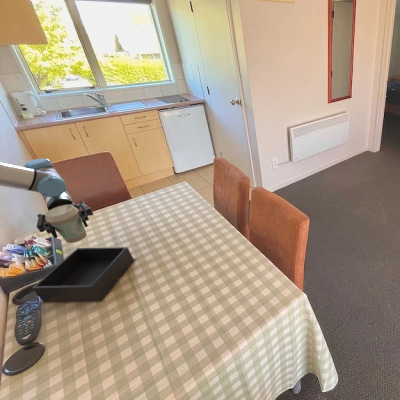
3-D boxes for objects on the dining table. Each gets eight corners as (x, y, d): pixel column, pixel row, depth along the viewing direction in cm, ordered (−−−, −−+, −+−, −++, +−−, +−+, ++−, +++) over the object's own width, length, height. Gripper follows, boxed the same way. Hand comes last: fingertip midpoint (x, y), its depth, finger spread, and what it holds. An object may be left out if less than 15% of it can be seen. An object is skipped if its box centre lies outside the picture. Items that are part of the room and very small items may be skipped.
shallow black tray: (43, 301, 91) (31, 288, 87) (85, 261, 108) (77, 247, 104) (100, 300, 91) (91, 286, 87) (134, 260, 108) (127, 247, 104)
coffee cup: (79, 245, 93) (61, 217, 87) (55, 245, 93) (35, 217, 87) (96, 230, 100) (81, 203, 94) (74, 230, 100) (57, 203, 94)
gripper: (96, 202, 112) (110, 224, 98) (30, 223, 99) (35, 252, 86) (88, 187, 108) (101, 207, 94) (18, 207, 95) (21, 234, 82)
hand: (69, 228), depth 90 cm, fingers closed on coffee cup, 8 cm apart
